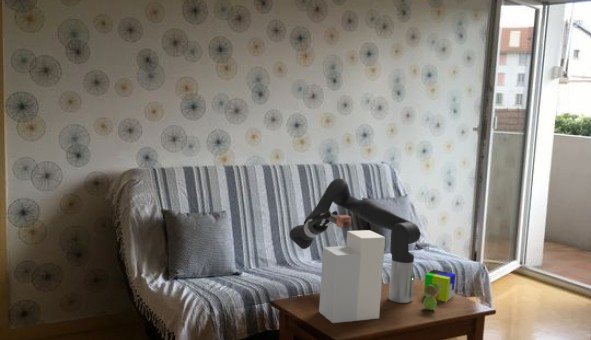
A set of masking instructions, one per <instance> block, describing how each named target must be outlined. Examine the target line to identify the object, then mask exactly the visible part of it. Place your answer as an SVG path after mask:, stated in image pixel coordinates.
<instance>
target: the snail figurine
mask: <svg viewBox="0 0 591 340" xmlns="http://www.w3.org/2000/svg"><path fill="white" fill-rule="evenodd" d="M440 288H441V282H440V285H438V286H437V290H436V288H435V287H434V286H433V285H427V286H426V287H425V292H426V294H425V296H427V297H424V299H423V301H422V302H423V303H422V305H423V307H424V308H425V310H427V311H433V310H435V309H436V308H437V305H438V304H437V303H438V301H437V300H436V299H435V298H433V297H436V296H437V295H438V293H439V290H440Z"/></svg>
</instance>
